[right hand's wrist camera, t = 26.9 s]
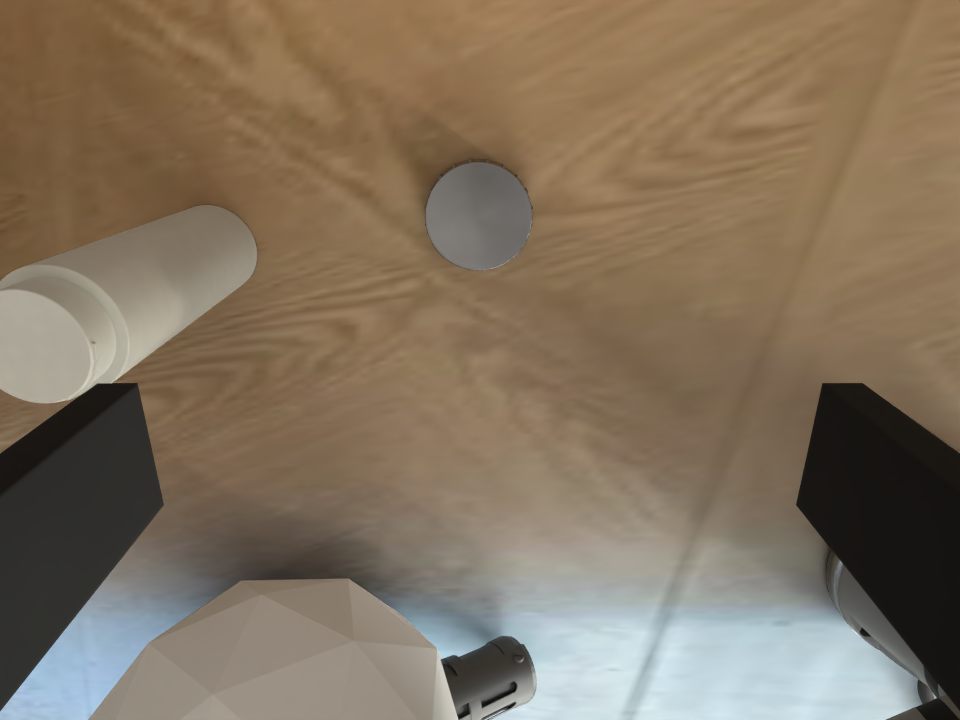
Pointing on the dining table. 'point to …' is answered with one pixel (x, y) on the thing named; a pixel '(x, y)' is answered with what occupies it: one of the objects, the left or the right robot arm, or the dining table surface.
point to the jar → (116, 301)
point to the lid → (478, 215)
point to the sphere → (313, 663)
